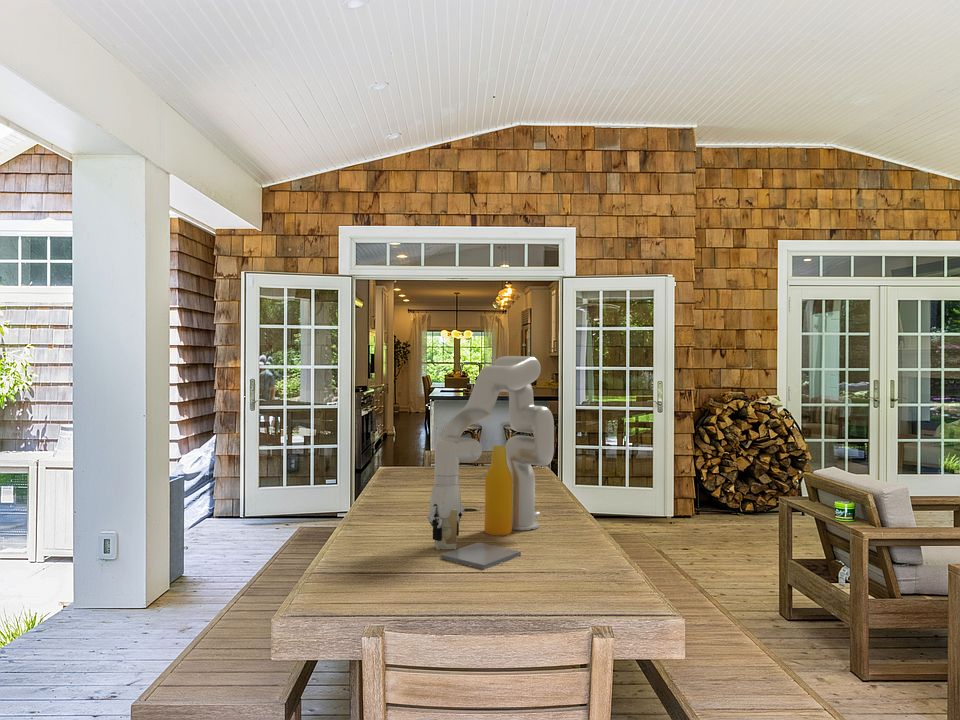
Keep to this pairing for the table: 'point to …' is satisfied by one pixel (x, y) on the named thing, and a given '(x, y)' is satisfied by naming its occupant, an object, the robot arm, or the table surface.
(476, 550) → the slate board
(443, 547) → the skincare box
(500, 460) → the beer bottle
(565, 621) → the table surface
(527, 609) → the table surface
